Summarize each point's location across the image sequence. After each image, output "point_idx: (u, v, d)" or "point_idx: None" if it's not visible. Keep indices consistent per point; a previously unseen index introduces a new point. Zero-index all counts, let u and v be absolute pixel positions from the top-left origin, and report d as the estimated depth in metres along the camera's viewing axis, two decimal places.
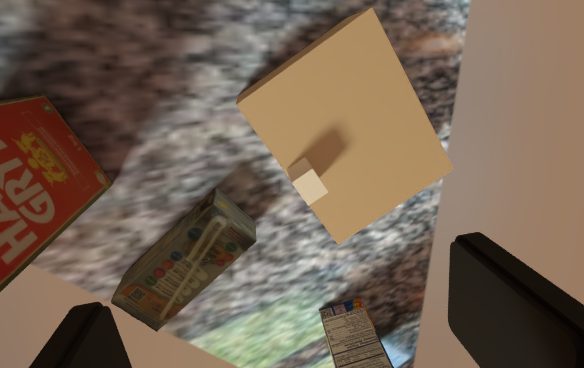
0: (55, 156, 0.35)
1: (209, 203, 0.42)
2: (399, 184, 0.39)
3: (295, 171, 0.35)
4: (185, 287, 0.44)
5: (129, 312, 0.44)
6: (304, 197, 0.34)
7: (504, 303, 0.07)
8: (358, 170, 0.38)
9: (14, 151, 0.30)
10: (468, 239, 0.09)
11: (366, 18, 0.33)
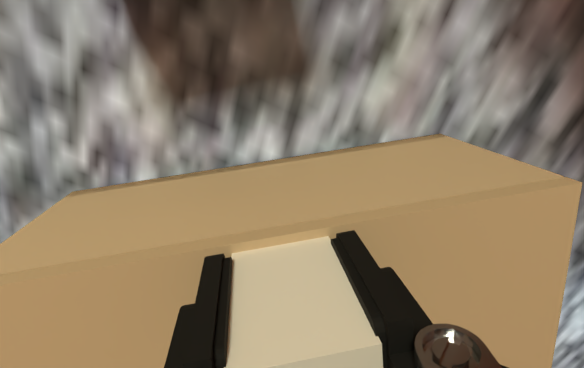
0: None
1: None
2: None
3: None
4: None
5: None
6: None
7: None
8: None
9: None
10: (340, 236, 0.10)
11: None
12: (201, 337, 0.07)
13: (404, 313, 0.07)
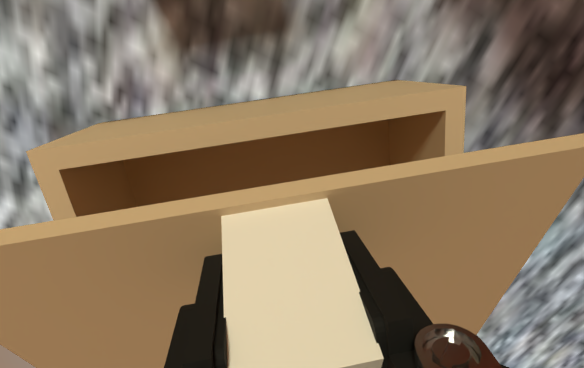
0: None
1: None
2: None
3: None
4: None
5: None
6: None
7: None
8: None
9: None
10: (341, 236, 0.10)
11: None
12: (201, 337, 0.07)
13: (405, 313, 0.07)
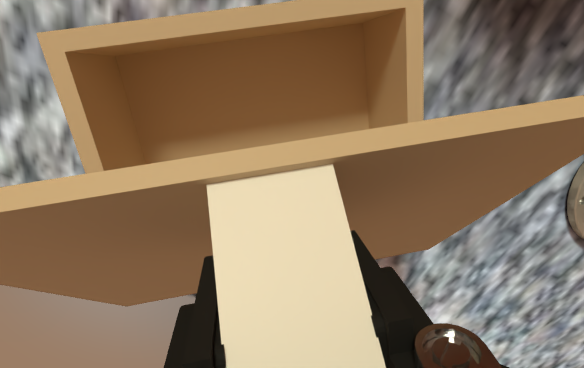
0: None
1: None
2: (119, 287, 0.16)
3: None
4: None
5: None
6: None
7: None
8: (193, 256, 0.14)
9: None
10: None
11: (426, 247, 0.22)
12: (201, 337, 0.07)
13: (404, 313, 0.07)
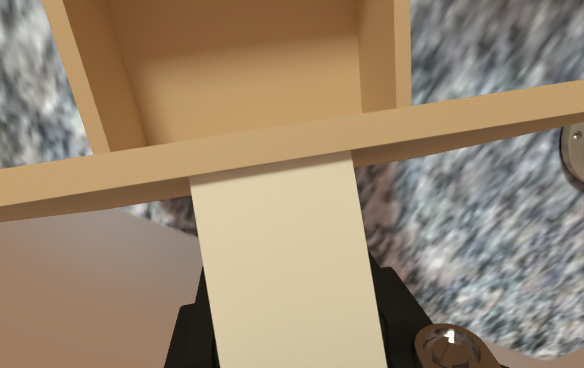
0: None
1: None
2: (95, 208, 0.15)
3: None
4: None
5: None
6: None
7: None
8: (174, 192, 0.12)
9: None
10: None
11: (415, 157, 0.22)
12: (201, 337, 0.07)
13: (404, 313, 0.07)
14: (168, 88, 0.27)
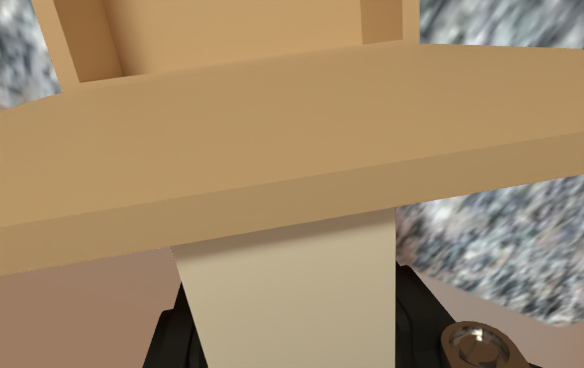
0: None
1: None
2: None
3: None
4: None
5: None
6: None
7: None
8: None
9: None
10: None
11: None
12: (176, 345, 0.07)
13: (429, 310, 0.07)
14: None
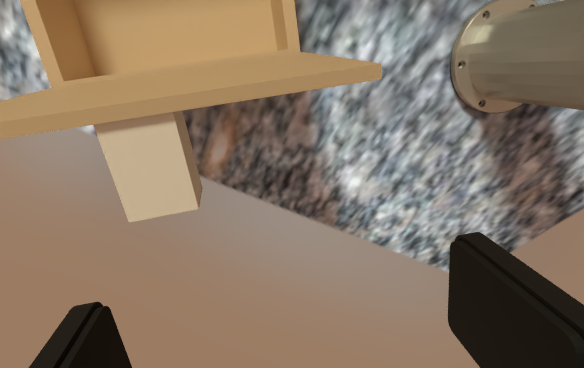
0: None
1: None
2: None
3: (188, 159, 0.15)
4: None
5: None
6: None
7: (504, 303, 0.07)
8: None
9: None
10: (468, 239, 0.09)
11: None
12: None
13: None
14: (108, 16, 0.32)
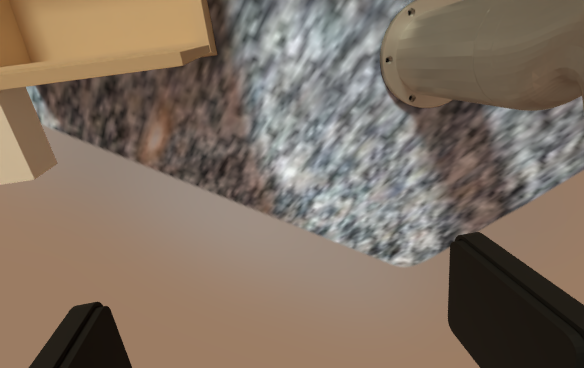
0: None
1: None
2: None
3: (25, 135, 0.17)
4: None
5: None
6: None
7: (504, 303, 0.07)
8: None
9: None
10: (468, 239, 0.09)
11: None
12: None
13: None
14: (41, 10, 0.34)
